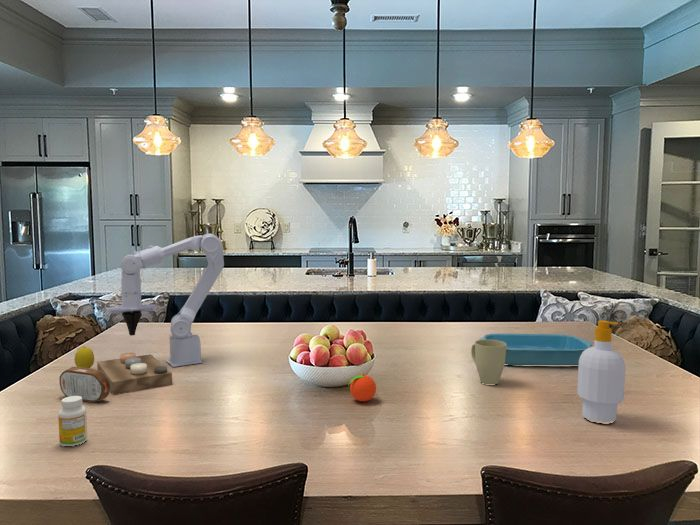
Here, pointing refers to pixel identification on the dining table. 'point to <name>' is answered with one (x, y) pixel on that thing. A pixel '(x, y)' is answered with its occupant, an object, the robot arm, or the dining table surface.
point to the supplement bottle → (72, 422)
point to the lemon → (84, 357)
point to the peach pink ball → (127, 356)
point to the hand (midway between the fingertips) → (132, 334)
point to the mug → (489, 359)
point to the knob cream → (138, 368)
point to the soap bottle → (601, 377)
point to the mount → (128, 382)
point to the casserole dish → (541, 348)
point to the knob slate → (132, 362)
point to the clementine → (362, 388)
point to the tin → (85, 384)
